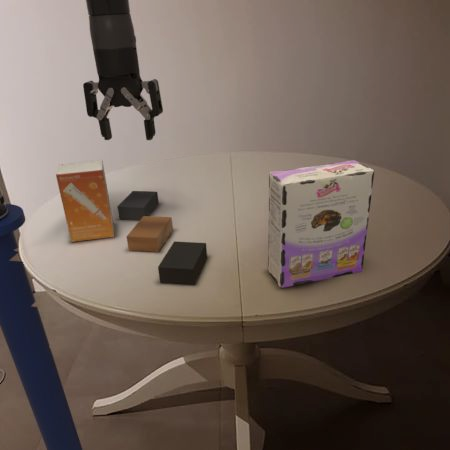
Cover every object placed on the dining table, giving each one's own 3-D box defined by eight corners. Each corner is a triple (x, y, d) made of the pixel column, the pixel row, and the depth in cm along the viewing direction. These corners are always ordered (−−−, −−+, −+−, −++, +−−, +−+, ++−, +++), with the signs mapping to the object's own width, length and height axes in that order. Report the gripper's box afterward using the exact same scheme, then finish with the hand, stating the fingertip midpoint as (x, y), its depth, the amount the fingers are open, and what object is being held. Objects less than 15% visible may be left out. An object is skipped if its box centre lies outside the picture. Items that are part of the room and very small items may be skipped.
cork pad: (158, 252, 82) (156, 237, 81) (128, 250, 83) (126, 236, 82) (173, 230, 90) (171, 216, 88) (145, 229, 91) (143, 215, 89)
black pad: (194, 284, 72) (192, 269, 71) (159, 282, 73) (157, 267, 72) (207, 257, 80) (206, 242, 78) (175, 255, 81) (174, 241, 79)
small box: (71, 243, 87) (54, 174, 80) (72, 229, 92) (56, 163, 85) (115, 237, 88) (102, 169, 81) (114, 224, 93) (102, 158, 86)
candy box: (344, 257, 78) (355, 158, 69) (363, 273, 73) (377, 169, 64) (266, 271, 75) (267, 169, 66) (280, 289, 70) (283, 182, 61)
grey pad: (145, 220, 94) (143, 207, 93) (119, 219, 95) (116, 206, 94) (159, 203, 102) (157, 191, 100) (134, 203, 103) (132, 190, 101)
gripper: (67, 48, 80) (87, 144, 89) (145, 45, 78) (158, 144, 86) (85, 44, 86) (102, 134, 95) (159, 41, 84) (169, 134, 93)
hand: (129, 139), depth 91 cm, fingers open, 8 cm apart
